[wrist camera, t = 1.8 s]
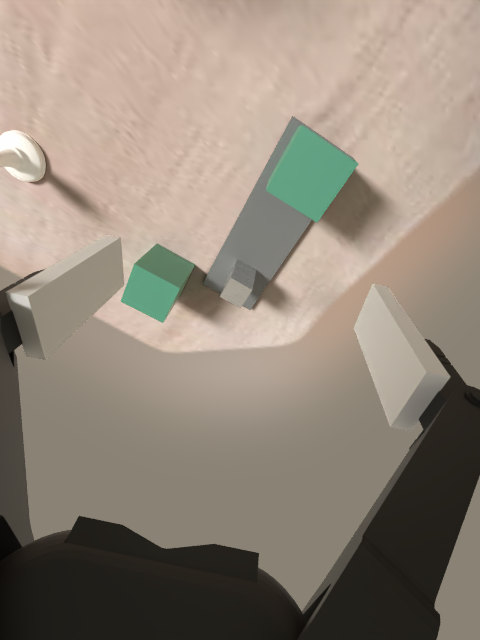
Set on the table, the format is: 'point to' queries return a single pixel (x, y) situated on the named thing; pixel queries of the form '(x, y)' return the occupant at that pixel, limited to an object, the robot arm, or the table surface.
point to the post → (238, 283)
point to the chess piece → (21, 156)
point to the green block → (157, 282)
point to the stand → (282, 205)
